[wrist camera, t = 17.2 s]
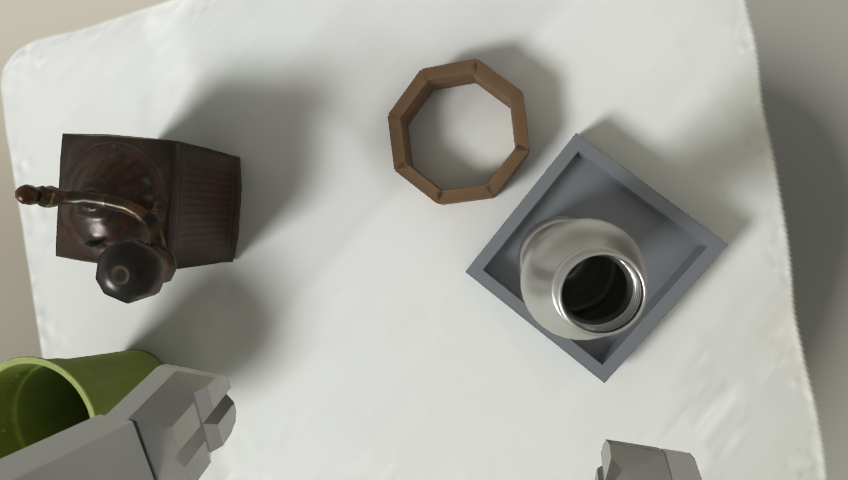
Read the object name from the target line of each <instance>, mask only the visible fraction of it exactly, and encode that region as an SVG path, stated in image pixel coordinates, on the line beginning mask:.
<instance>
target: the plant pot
mask: <svg viewBox="0 0 848 480" xmlns="http://www.w3.org/2000/svg"><path fill="white" fill-rule="evenodd" d="M160 365H162V364H161V363H160V362H159V361H158V360H157V359H156V358H155V357H154V356H152V355H151V354H149V353H147V352H144V351H140V350H128V351H121V352H114V353H108V354H100V355H93V356H85V357H78V358H71V359H60V358H56V359H44V358H38V357H18V358H14V359H10V360H8V361H5V362H3V363H1V364H0V459H1V458H3V457H5V456H8V455H10V454H12V453H14V452H17V451H19V450H21V449H23V448H26V447H28V446H30V445H32V444H35V443H37V442H39V441H41V440H43V439H46V438H48V437H50V436H52V435H55V434H57V433H59V432H61V431H64V430H66V429H68V428H70V427H72V426H75V425H77V424H79V423H81V422H84V421H86V420H88V419H90V418H93V417H95V416H97V415H106V414H108V413H109V412H110V411H111V410H112V409H113V408H114V407H115V406H116V405H117V404H118V403H119V402H120V401H121V400H122V399H123V398H125V397H126V396H127V395H128V394H129V393H130V392H131V391H132V390H133V389H134V388H135V387H136V386H137V385H138V384H139V383H140V382H142V381H143V380H144V379H145V378H146V377H147V376H148V375H149V374H150V373H151V372H152V371H153V370H154V369H155V368H156V367H158V366H160Z"/></svg>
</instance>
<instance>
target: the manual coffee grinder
mask: <svg viewBox="0 0 848 480" xmlns="http://www.w3.org/2000/svg"><path fill="white" fill-rule="evenodd" d="M15 197H16V198H17V200H18V201H19V202H20V203H22V204H27V205H32V204H36V203H37V204H38V205H40V206H42V207H47V208H50V207H54V206H58V215H57V236H56V256H59V257H63V258H69V259H74V260H80V261H85V262H92V263H98V264H97V272H96V280H97V282H98V284H99V285H100V287H101V289H102V291H103V292H104V294H106V295H108V296H111V297H113V298H115V299H118V300H120V301H122V302H125V303H131V302H134V301H137V300H140V299H143V298H146V297H150V296H153V295H155V294H157V293H159V291H160V289H161V287H162V285H163V283H165V282H168V281H171V279H172V277H173V275H174V273H175V271H176V269H181V268H188V267H195V266H202V265H208V264H215V263H220V262H233V258H234V253H235V248H236V243H237V238H238V229H239V216H240V202H241V171H240V158H239V157H236V156H232V155H228V154H225V153H222V152H218V151H214V150H211V149H207V148H203V147H199V146H195V145H191V144H187V143H183V142H178V141H171V140H163V139H154V138H143V137H131V136H120V135H109V134H63V136H62V147H61V157H60V178H59V188H56V187H53V186H47V187H44V186H40V187H34V186H32V185H23V186H21V187H19V188H18V189H17V190H16V191H15Z"/></svg>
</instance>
